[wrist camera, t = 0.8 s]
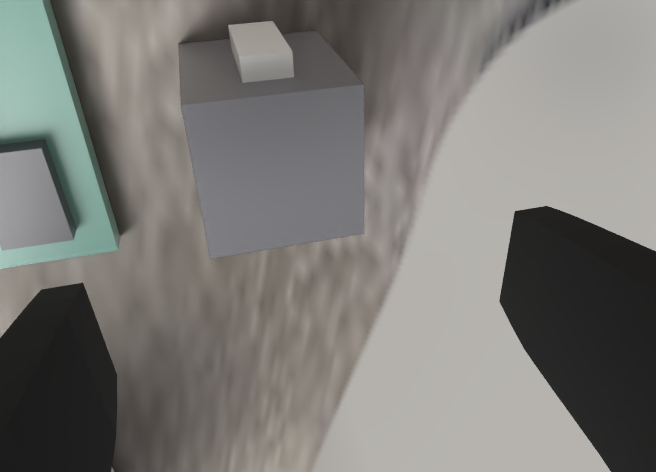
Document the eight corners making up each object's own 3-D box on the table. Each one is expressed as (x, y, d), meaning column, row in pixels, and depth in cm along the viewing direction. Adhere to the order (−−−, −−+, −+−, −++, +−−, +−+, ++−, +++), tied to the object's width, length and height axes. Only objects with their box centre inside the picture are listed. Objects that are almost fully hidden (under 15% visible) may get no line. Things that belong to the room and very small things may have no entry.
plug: (322, 153, 19) (364, 233, 15) (201, 169, 18) (210, 258, 14) (315, 8, 16) (364, 56, 12) (174, 21, 15) (175, 77, 11)
